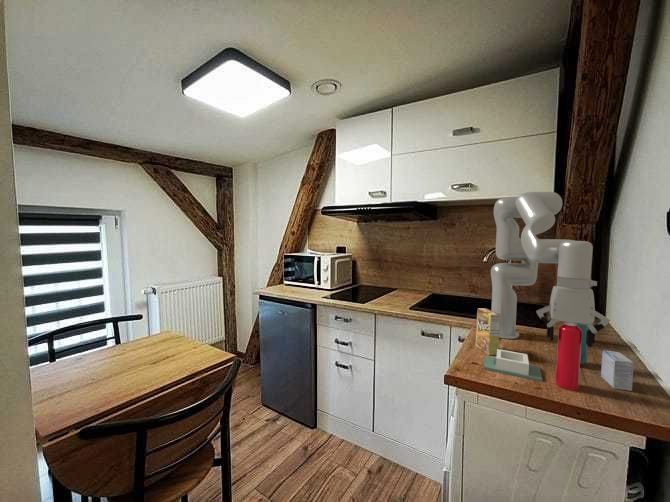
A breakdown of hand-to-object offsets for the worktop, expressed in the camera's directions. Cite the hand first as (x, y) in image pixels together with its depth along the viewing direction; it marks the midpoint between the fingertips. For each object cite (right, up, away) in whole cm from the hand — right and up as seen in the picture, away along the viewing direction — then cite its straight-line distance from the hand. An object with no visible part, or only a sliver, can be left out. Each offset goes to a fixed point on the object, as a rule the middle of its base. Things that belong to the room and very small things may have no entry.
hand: (569, 342), depth 87 cm
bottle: (0, -13, +1) cm, 13 cm away
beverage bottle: (+14, -12, +16) cm, 25 cm away
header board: (-10, -12, +11) cm, 20 cm away
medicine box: (+16, -13, +2) cm, 21 cm away
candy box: (-11, -11, +27) cm, 31 cm away
